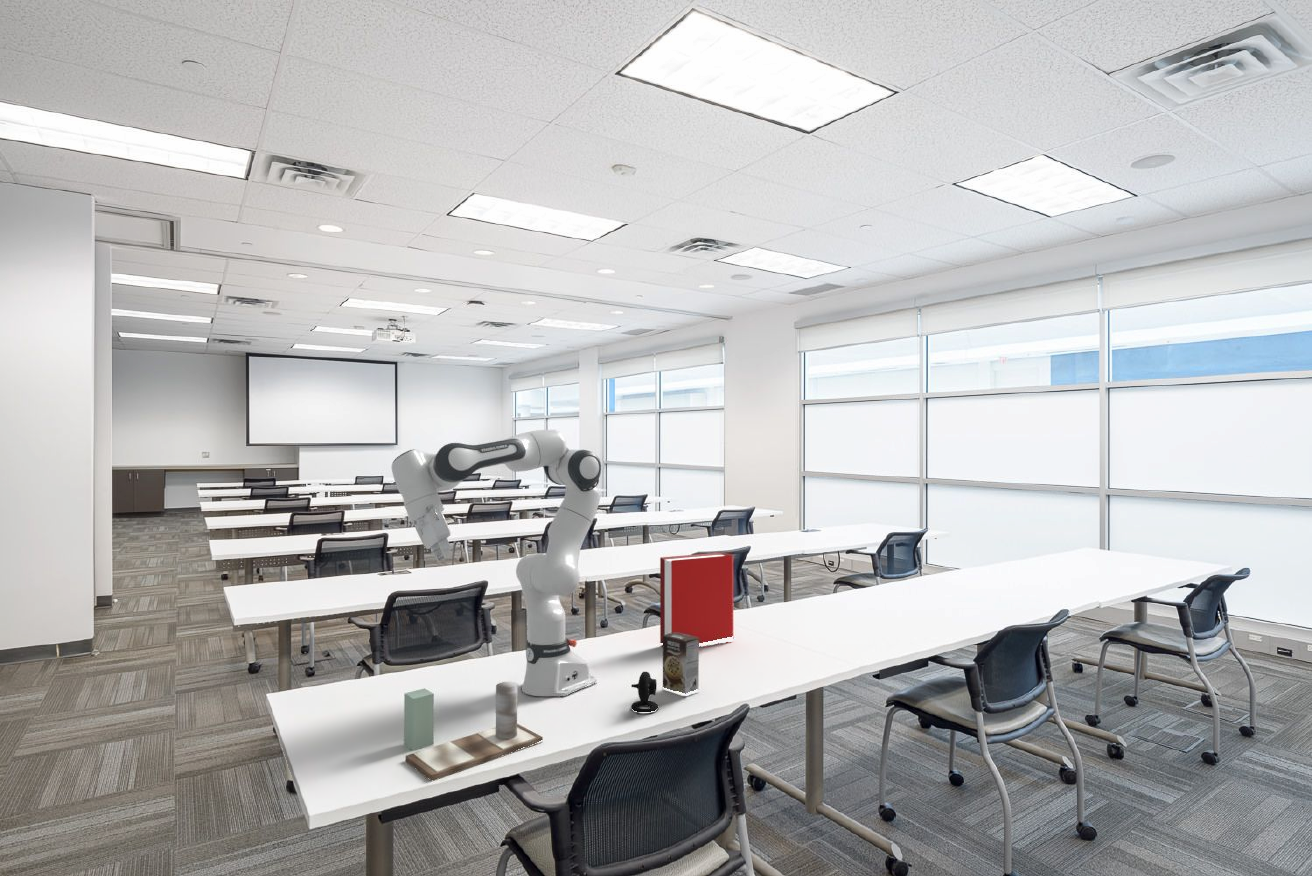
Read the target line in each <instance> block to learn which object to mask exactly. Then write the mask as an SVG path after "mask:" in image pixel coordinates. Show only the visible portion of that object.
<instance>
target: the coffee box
mask: <svg viewBox="0 0 1312 876" xmlns="http://www.w3.org/2000/svg"><path fill="white" fill-rule="evenodd" d="M699 649H700V648H699V637H695V636H691V635H687V634H683V633H679V632H674V633H669V634H666V635H663V646H662V688H663V687H664V688H667V689H670V690H673V691H679V692H682V693H685V694H686V693H688V692H690V691H694V690H696V689H698V690H699V686H700V685H699V674H700V673H699V671H700V670H699V663H700V662H699V661H700V656H699V655H700V650H699Z"/></svg>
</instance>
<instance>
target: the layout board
mask: <svg viewBox="0 0 1312 876" xmlns="http://www.w3.org/2000/svg"><path fill="white" fill-rule="evenodd" d="M543 738H544V737H543V736H541V735H539V733H536V732H534V731H532V730H530V729H528V728H527V727H524V726H522V725H521V724H519V723H518V683H517V682H515V681H502V682H498V683H497V684H496V685H495V727H492V728H490V729H486V730H483V731H479V732H477V733H474V734H470V735H467V736H463V737H461V738H460V737H459V738H458V739H455V740H451V741H447V742H444V743H442V744H438V745H435V746H432V747H429V748H425V749H421V750H419V751H415V752H413V753H409V754H406V755H405V762H406V763H408V765H409V766H411V767H412V768H414V769H415V768H416V769H417V770H416V769H415V770H416V771H418V772H419V773H420V774H422V775H423V776H424V775H425V776H426V778H427V779H428V778H429V779H430V780H429V779H428V780H429V781H431V782H432V780H433V781H435V780H434V779H436V780H438V778H439V779H441V777H442V778H444V777H443V776H445V777H447V776H446V775H448V776H449V775H450V776H451V775H453V774H456V773H459V772H461V771H464V770H468V769H470V768H473V767H475V766H479V765H481V764H484V763H488V762H490V761H494V760H496V759H499V758H502V757H503V756H502V755H505V754H508V755H509V753H510V754H512V753H511V752H513V753H515V752H514V751H516V750H518V749H521V748H523V747H528V746H530V745H532V744H535V743H537V742H539V741H541V740H543ZM530 747H531V746H530ZM528 748H529V747H528ZM516 752H517V751H516ZM501 756H502V757H501ZM505 756H506V755H505ZM498 757H499V758H498ZM425 776H424V777H425Z"/></svg>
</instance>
